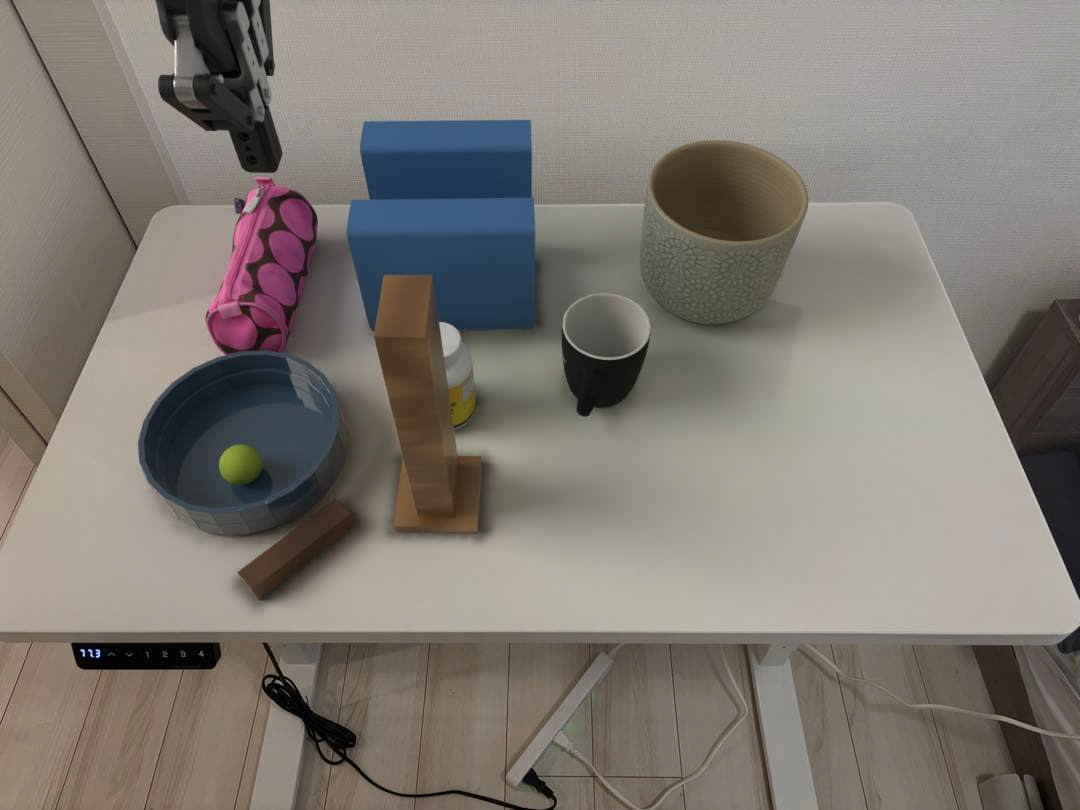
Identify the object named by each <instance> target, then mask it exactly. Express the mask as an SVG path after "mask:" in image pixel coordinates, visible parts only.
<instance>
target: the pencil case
mask: <svg viewBox="0 0 1080 810" xmlns="http://www.w3.org/2000/svg"><path fill="white" fill-rule="evenodd" d="M253 180H254V181H255V182H256V183H257V187H256V188H253V189H252V190H250V192H249V193H248V195H247V197H246V198H245V199H242V198H240V197H239V198H238V197H234V213H235V214H236V215H239V217H238V218H237V221H236V224H235V227H234V232H233V237H232V248H231V253H230V259H229V265H228V266H227V270H226V273H225V275H224V278H223V280H222V282H221V285H220V287H219V290H218V293H217V296H216V298H215V299H214V301H213V302H212V304H211V305H210V306H209V307H208V309H207V311H206V314H205V323H206V327H207V330H208V333H209V336H211V339H212V341H213V343H214V344H215V346H216V347H217V348H218V349H219V350H220V352H221V353H222V354H224V356H225V355H229V354H233V353H237V352H242V351H261V350H268V351H274V352H280V353H284V350H285V349H286V347H287V345H288V341H289V337H291V335H292V334H293V326H294V321H295V318H296V315H297V311H298V308H299V306H300V304H301V302H302V301H301V300H302V294H303V290H304V287H305V284H306V279H307V277H308V274H309V266H310V263H311V260H312V257H313V253H314V250H315V245H316V241H317V239H318V227H319V218H318V215H317V212H316V210H315V209H314V207H313V205H312V204H311V202H310V201H309V200H308V199H307V197H305V195H303V194H302V193H301V192H299V191H297V190H296V189H293V188H289V187H286V186H279V185H276V184H275V181H274V179H273V178H272V177H269V176H256V177H255V176H254V177H253Z"/></svg>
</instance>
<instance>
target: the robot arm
mask: <svg viewBox="0 0 1080 810" xmlns="http://www.w3.org/2000/svg"><path fill="white" fill-rule="evenodd" d="M154 1H155V5H156V8H157V13H158V20H159V25H160V29H161V31H162V33H163V36H164V38H165V39H166V40H167V42H169V44H170V45H172V46H173V47H174V72H172V74H160V75H159V76H158V79H157V89H158V94H159V96H160V99H162V101H163V102H165V103H166V104H168V105H169V106H171V107H172V108H173V109H174V110H176V111H178V113H180V114H181V115H183V116H184V117H185V118H187V119H189V120H190V121H192V122H193V123H194V124H195V125H197V126H198V127H200V128H201V129H203V130H204V131H206V132H218V131H228V133H229V136H230V139H231V142H232V145H233V148H234V150H235V153H236V156H237V159H238V162H239V164H240V167H241V169H242V170H244V171H245V172H247V173H249V174H250V173H252V174H253V173H254V174H274V173H276V172H277V171H278V169H279V167H280V163H281V160H282V158H283V153H284V152H283V149H282V145H281V143H280V139H279V135H278V132H277V129H276V126H275V122H274V119H273V116H272V113H271V109H270V103H271V98H272V90H271V89H270V84H269V83H270V82H269V80H268V77H273V76H274V75H275V69H276V64H275V57H274V43H273V41H274V40H273V31H272V30H273V29H272V28H273V27H272V15H271V1H270V0H154Z"/></svg>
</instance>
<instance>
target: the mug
mask: <svg viewBox="0 0 1080 810" xmlns="http://www.w3.org/2000/svg"><path fill="white" fill-rule="evenodd" d="M651 335H652V324H651V321H650V318H649V315H648V314H647V312H646V311H645V310H644V308H642V306H640V304H638V303H637V302H635V300H632V299H630V298H628V297H626V296H624V295H620V294H617V293H611V292H599V293H592V294H588V295H585V296H582V297H581V298H579V299H577V300H575V301H574V302H573V303H572V304H571V305H569V306H568V308H567V309H566V311H565V313H564V315H563V318H562V322H561V355H562V357H561V358H562V365H563V372H564V376H565V380H566V383H567V386H568V388H569V390H570V392H571V394H572V395H573V396H574V397H575V398H576V399H577V401H576V413H577V414H578V415H579V416H580V417H583V418H586V417H589V416H590V415H591V414H592V412H593V409H608V408H612V407H614V406H617V405H618V404H620V403H622V402H623V401H624V400H625V399H626V398H627V397H628V396H629V395H630V393H631V392H632V391H633V388H634V387H635V386H636V383H637V381H638V379H639V376H640V373H641V371H642V368H643V366H644V363H645V360H646V356H647V354H648V353H647V352H648V349H649V346H650V341H651Z"/></svg>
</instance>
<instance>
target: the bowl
mask: <svg viewBox="0 0 1080 810" xmlns="http://www.w3.org/2000/svg"><path fill="white" fill-rule="evenodd" d="M348 435H349V432H348V429H347V424H346V421H345V417H344V413H343V409H342V408H341V405H340V402H339V399H338V395H337V392H336V390H335V389H334V387H333V385H332V384H331V382H330V380H329V379H328V378H327V376H326V375H325V374H324V373H323V372H321V370H319V369H318V368H316V367H315V366H314V365H313V364H311V362H309V361H307V360H304V359H301V358H300V357H297V356H295V355H293V354H290V353H287V352H286V353H285V352H282V353H280V352H274V351H268V350H261V351H242V352H237V353H233V354H229V355H225V354H224V355H221V356H217V357H215V358H212V359H210V360H207V361H206V362H203V363H201V364H199V365H197V366H195V367H192V368H191V369H190V370H188V371H187V372H185V373H184V374H183V375H181V376H179V377H177V379H175V380H174V381H172V383H170V385H169V386H168V387H166V389H165V390H164V391H163V392H162V393H161V394H160V395H159V396H158V397H157V398H156V399H155V401H154V402H153V404H152V406H151V407H150V409H149V411H148V413H147V414H146V416H145V418H144V420H143V421H142V426H141V429H140V433H139V436H138V440H137V450H138V463H139V466H140V468H141V471H142V473H143V475H144V477H145V480H146V481H147V483H148V485H149V486H150V487H151V489H152V490H153V491H154V492H155V494H156V495H157V497H159V499H160V500H161V502H162V503H163V504H164V505H165V506H166V508H168V510H169V511H170V512H172V513H173V514H174V515H175V516H176V517H177V518H178V520H180V521H181V522H184V523H186V524H188V525H190V526H192V527H194V528H195V529H197V530H200V531H202V532H203V531H204V532H209V533H214V534H220V535H224V536H225V535H226V536H230V535H231V536H232V535H233V536H234V535H248V534H250V535H251V534H255V533H259V532H262V531H265V530H269V529H272V528H276V527H279V526H281V525H283V524H286V523H287V522H289V521H291V520H293V519H294V518H296V517H298V516H300V515H302V514H303V513H306V511H307V510H309V509H311V507H312V506H313V505H314V504H316V502H318V501H319V500H320V499H321V498H323V497H324V496H325V494H326V493H327V492H328V491H329V489H330V487H332V485H333V484H334V482H335V481H336V479H338V477H339V475H340V473H341V469H342V467H343V464H344V462H345V459H346V457H347V451H348V450H347V449H348V439H349V436H348ZM234 445H248V446H251V447H252V448H254V449H255V450H256V451H257V452H258V453H259V454H260V456H261V459H262V470H261V472H260V474H259V476H258V477H257V478H256V479H255V480H254V481H252V482H251V483H249V484H245V485H235V484H232V483H230V482H228V481H227V480H225V479H224V478H223V476H222V475H221V473H220V470H219V461H220V458H221V456H222V454H223V453H224V452H225V451H226V450H227V449H228V448H230V447H232V446H234Z"/></svg>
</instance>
